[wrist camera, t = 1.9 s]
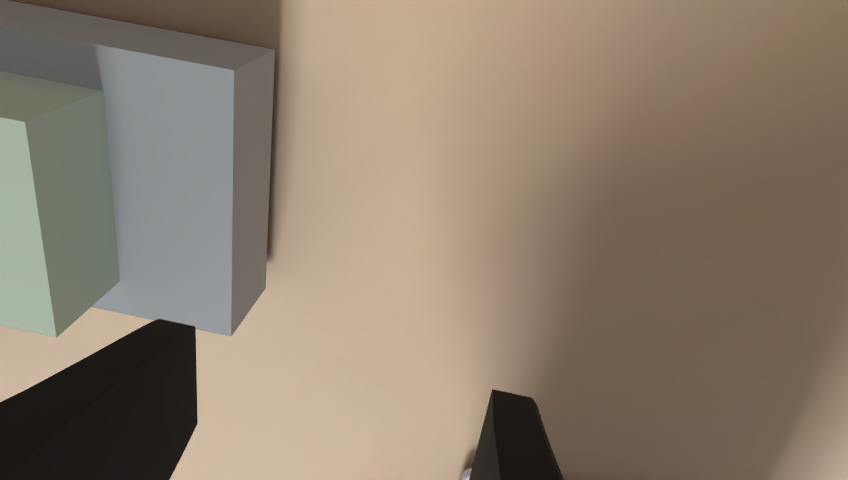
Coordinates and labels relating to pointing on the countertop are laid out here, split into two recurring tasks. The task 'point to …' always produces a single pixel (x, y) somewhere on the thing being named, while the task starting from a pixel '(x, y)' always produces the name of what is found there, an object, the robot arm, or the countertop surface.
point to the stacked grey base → (130, 171)
